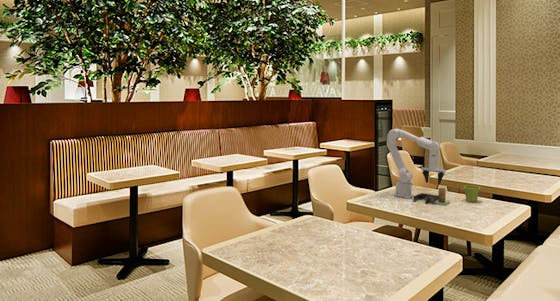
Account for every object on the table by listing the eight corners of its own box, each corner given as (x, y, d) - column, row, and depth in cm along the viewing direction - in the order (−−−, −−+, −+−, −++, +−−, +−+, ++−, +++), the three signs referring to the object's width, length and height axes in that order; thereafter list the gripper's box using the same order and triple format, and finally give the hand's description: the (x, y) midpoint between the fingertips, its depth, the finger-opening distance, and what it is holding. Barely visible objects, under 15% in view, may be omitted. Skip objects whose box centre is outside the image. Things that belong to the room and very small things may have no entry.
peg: (437, 201, 255) (437, 188, 254) (439, 200, 258) (440, 187, 257) (443, 203, 252) (444, 189, 251) (446, 201, 255) (446, 188, 254)
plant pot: (477, 203, 254) (478, 189, 252) (461, 201, 259) (461, 187, 258) (481, 200, 261) (482, 186, 260) (465, 198, 267) (465, 184, 266)
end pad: (433, 203, 255) (433, 202, 255) (438, 201, 260) (438, 199, 260) (445, 205, 250) (445, 203, 250) (449, 203, 256) (449, 201, 255)
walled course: (413, 201, 260) (413, 196, 259) (421, 198, 268) (421, 192, 268) (432, 205, 252) (432, 199, 251) (440, 201, 260) (440, 195, 260)
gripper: (419, 161, 265) (419, 182, 267) (442, 163, 255) (442, 186, 257) (424, 160, 270) (423, 181, 272) (447, 162, 260) (446, 184, 262)
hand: (433, 183), depth 265 cm, fingers open, 7 cm apart
